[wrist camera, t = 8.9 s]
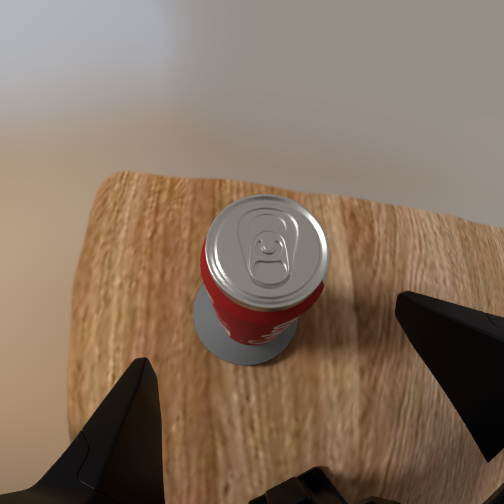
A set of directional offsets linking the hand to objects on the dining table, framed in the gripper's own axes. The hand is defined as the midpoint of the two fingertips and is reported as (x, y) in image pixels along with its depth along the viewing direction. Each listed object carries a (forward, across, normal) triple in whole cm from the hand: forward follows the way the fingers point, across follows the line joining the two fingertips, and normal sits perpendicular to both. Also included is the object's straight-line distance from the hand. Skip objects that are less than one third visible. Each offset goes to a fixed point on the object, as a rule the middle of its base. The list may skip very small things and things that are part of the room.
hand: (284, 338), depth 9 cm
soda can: (+11, 0, +6) cm, 13 cm away
